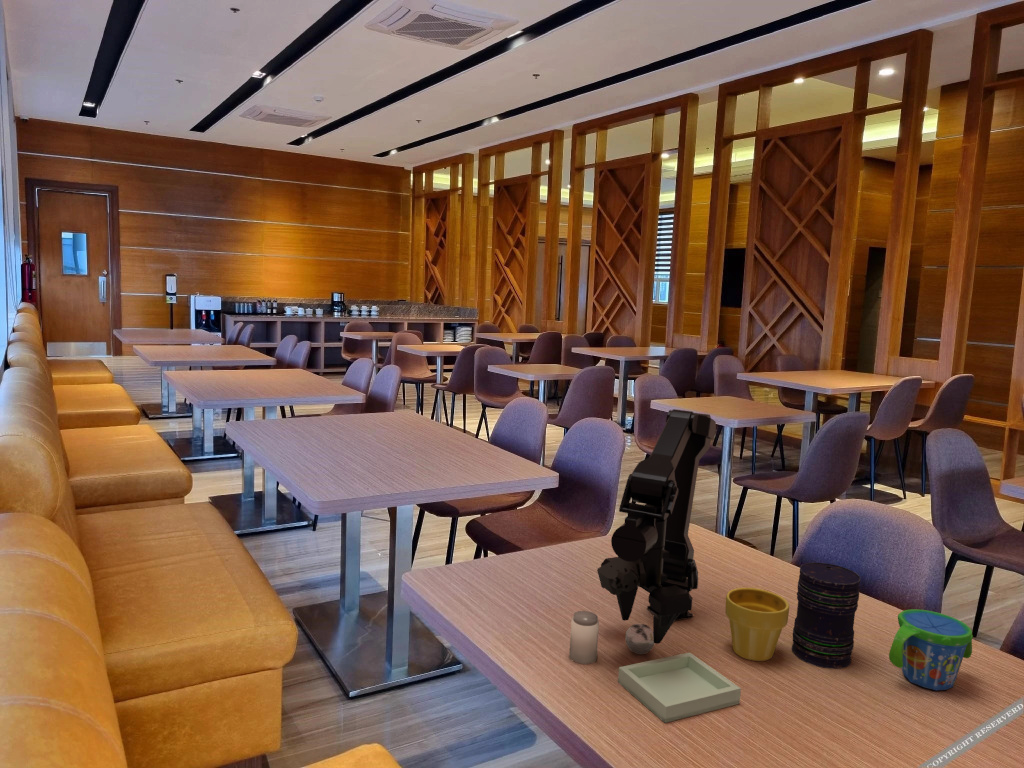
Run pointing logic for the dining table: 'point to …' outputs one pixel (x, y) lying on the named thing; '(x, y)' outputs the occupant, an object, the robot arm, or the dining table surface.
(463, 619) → the dining table surface
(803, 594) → the storage jar
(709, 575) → the dining table surface
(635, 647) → the ball
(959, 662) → the snack cup
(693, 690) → the tray
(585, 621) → the shaker
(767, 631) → the plant pot
